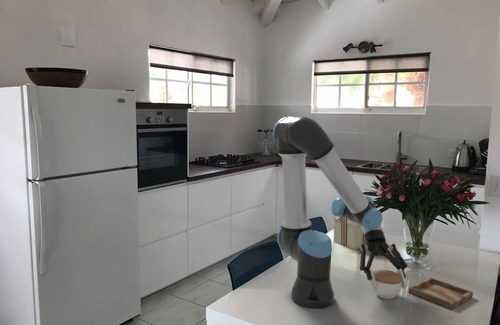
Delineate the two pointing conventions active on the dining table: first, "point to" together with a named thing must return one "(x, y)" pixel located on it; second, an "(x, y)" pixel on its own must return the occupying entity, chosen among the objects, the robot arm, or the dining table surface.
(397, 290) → the lidded jar
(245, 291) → the dining table surface
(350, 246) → the gift box
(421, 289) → the walnut tray
